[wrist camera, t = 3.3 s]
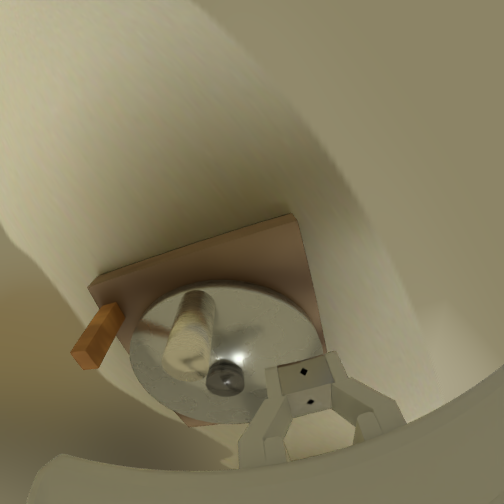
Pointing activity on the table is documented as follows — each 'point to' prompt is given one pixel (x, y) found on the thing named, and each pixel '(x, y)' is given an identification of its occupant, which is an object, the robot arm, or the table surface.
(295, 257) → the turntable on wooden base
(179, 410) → the dial
